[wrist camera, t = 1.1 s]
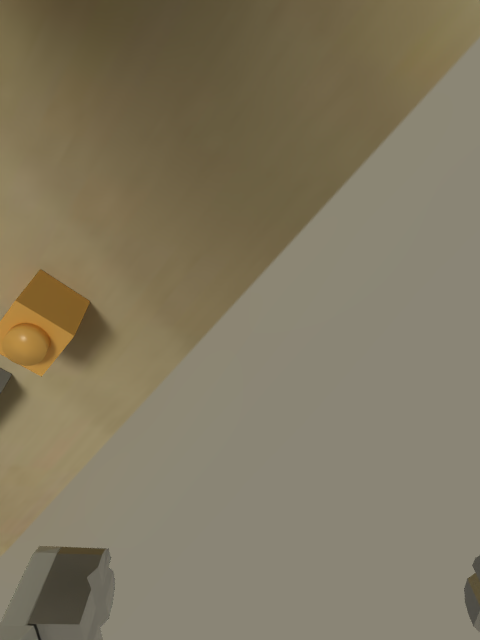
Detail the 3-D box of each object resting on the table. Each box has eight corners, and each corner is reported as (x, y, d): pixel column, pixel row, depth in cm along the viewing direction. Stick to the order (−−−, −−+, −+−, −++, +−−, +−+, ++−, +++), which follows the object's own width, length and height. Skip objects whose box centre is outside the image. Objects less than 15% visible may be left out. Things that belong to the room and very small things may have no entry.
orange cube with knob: (11, 308, 40) (-23, 353, 34) (40, 269, 39) (9, 307, 32) (61, 338, 42) (37, 385, 36) (90, 301, 41) (70, 343, 34)
